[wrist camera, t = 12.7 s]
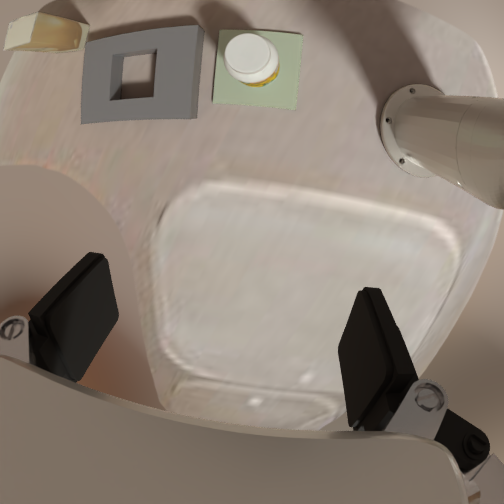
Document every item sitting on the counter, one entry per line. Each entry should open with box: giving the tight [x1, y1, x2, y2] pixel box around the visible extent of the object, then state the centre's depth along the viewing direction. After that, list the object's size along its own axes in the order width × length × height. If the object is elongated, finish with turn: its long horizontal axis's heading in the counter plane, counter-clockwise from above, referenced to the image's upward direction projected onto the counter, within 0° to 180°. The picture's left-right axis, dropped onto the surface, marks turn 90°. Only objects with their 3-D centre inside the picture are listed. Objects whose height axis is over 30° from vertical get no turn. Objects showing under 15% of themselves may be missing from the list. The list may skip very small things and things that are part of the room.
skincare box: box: [3, 12, 90, 53], centre depth 22 cm, size 6×4×12 cm
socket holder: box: [81, 25, 205, 124], centre depth 29 cm, size 16×12×3 cm
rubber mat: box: [213, 30, 303, 110], centre depth 29 cm, size 10×10×1 cm
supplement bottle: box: [224, 33, 280, 88], centre depth 25 cm, size 5×5×10 cm
